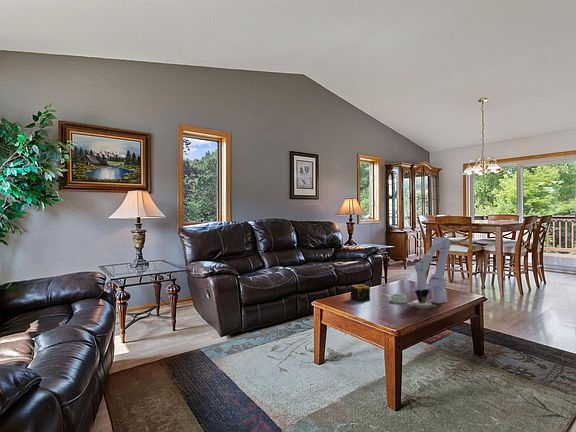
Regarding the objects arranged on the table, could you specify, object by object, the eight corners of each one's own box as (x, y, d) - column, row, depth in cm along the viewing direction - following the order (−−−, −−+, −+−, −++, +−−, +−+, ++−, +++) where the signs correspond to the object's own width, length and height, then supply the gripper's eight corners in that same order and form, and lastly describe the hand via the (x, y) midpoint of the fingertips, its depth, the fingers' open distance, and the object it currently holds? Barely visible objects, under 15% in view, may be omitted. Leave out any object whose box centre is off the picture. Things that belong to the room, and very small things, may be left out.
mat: (422, 301, 221) (422, 300, 221) (438, 306, 208) (438, 306, 208) (406, 303, 216) (406, 302, 216) (421, 309, 203) (421, 308, 203)
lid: (422, 300, 220) (422, 293, 220) (436, 304, 209) (436, 297, 209) (408, 302, 216) (408, 295, 216) (421, 307, 205) (421, 299, 204)
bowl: (399, 299, 226) (399, 293, 226) (409, 303, 218) (409, 296, 218) (388, 301, 223) (388, 294, 223) (397, 304, 214) (397, 297, 214)
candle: (350, 299, 230) (350, 285, 230) (362, 297, 234) (362, 283, 234) (358, 302, 221) (357, 288, 221) (370, 301, 224) (370, 286, 224)
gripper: (417, 282, 206) (417, 304, 206) (435, 280, 211) (435, 301, 211) (409, 280, 212) (409, 301, 213) (426, 278, 217) (427, 298, 217)
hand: (422, 301), depth 212 cm, fingers closed on lid, 3 cm apart
